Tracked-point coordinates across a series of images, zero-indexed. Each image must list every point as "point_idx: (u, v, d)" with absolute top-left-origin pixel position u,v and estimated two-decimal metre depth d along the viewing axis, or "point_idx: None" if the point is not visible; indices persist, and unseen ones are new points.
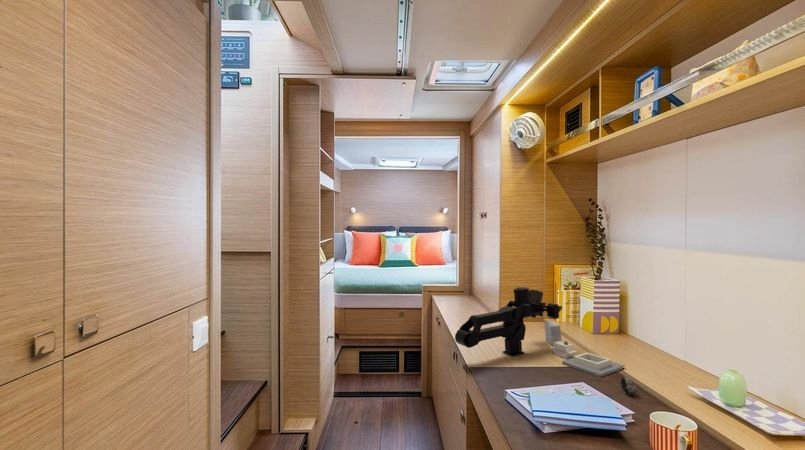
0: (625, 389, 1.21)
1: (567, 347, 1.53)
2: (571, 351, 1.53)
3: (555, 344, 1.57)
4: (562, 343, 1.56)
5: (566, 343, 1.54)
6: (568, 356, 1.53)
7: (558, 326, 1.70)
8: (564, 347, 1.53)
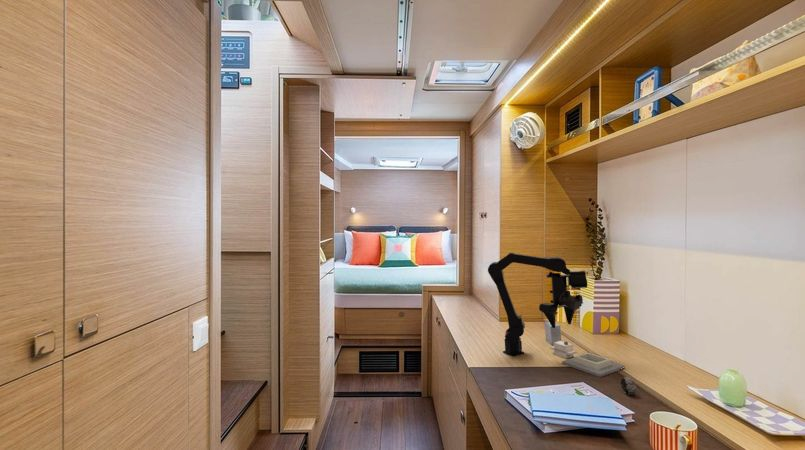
0: (625, 390, 1.21)
1: (567, 347, 1.53)
2: (571, 351, 1.53)
3: (555, 344, 1.57)
4: (562, 343, 1.56)
5: (566, 343, 1.54)
6: (568, 356, 1.53)
7: (558, 326, 1.70)
8: (564, 347, 1.53)
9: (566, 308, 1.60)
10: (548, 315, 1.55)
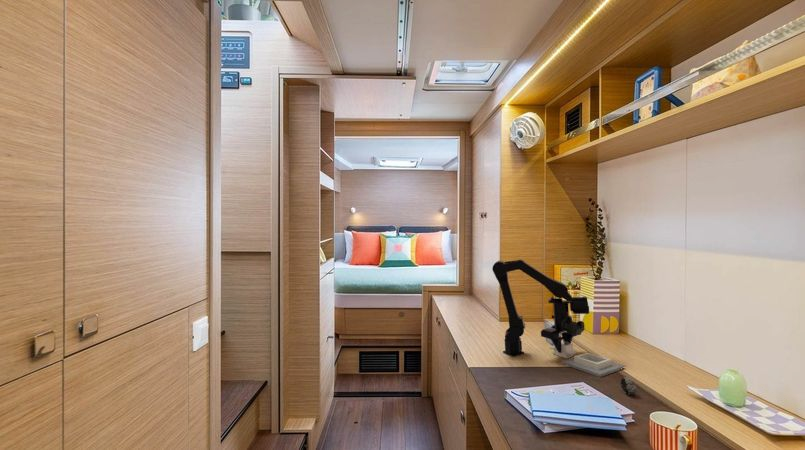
0: (625, 389, 1.21)
1: (567, 347, 1.53)
2: (571, 351, 1.53)
3: None
4: (562, 343, 1.56)
5: (566, 343, 1.54)
6: (568, 356, 1.53)
7: None
8: (564, 347, 1.53)
9: (564, 334, 1.59)
10: (554, 340, 1.56)
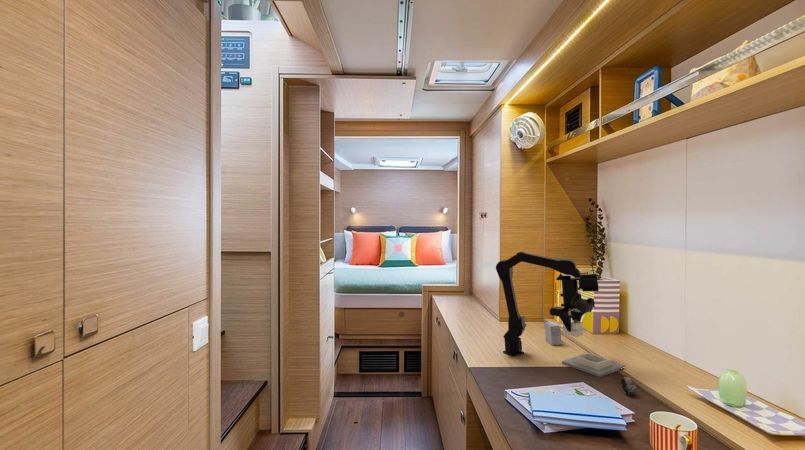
0: (625, 390, 1.21)
1: (577, 325, 1.49)
2: (581, 329, 1.48)
3: None
4: (571, 321, 1.52)
5: (576, 321, 1.50)
6: (578, 334, 1.49)
7: (558, 326, 1.70)
8: (574, 325, 1.48)
9: (573, 313, 1.54)
10: (563, 318, 1.51)
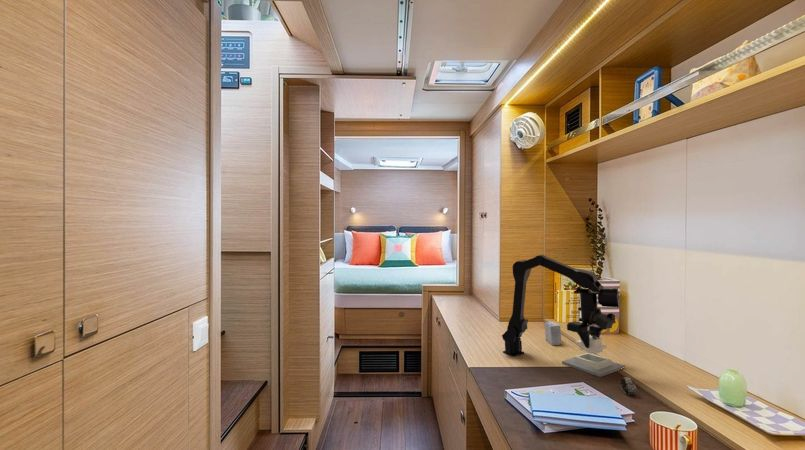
0: (625, 389, 1.21)
1: (596, 341, 1.40)
2: (600, 346, 1.40)
3: None
4: (590, 337, 1.44)
5: (595, 337, 1.42)
6: (597, 351, 1.41)
7: (558, 326, 1.70)
8: (593, 341, 1.40)
9: (591, 328, 1.46)
10: (581, 334, 1.43)
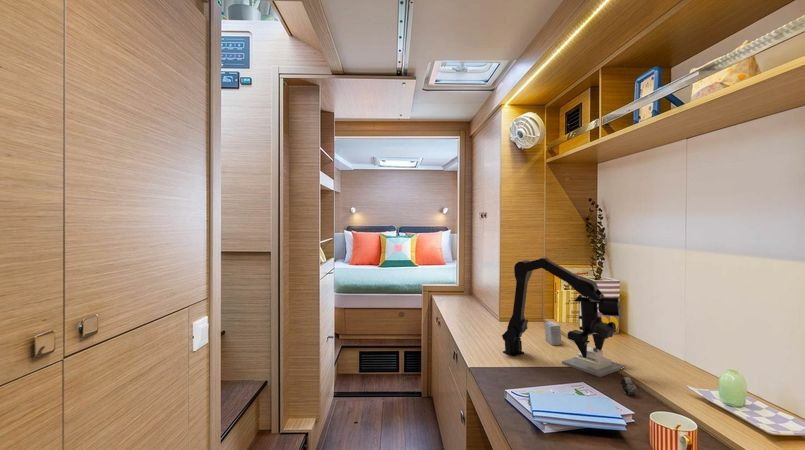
0: (625, 390, 1.21)
1: (597, 354, 1.40)
2: (601, 358, 1.40)
3: None
4: (591, 350, 1.43)
5: (595, 350, 1.42)
6: None
7: (558, 326, 1.70)
8: (594, 354, 1.40)
9: (595, 335, 1.47)
10: (579, 343, 1.42)
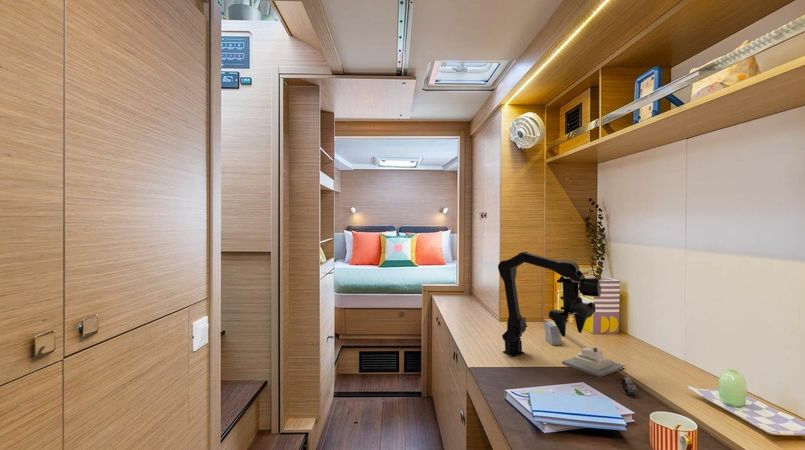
0: (625, 389, 1.21)
1: (597, 354, 1.40)
2: (601, 358, 1.40)
3: (583, 351, 1.44)
4: (591, 350, 1.43)
5: (595, 350, 1.42)
6: None
7: None
8: (594, 354, 1.40)
9: (577, 315, 1.51)
10: (558, 323, 1.46)
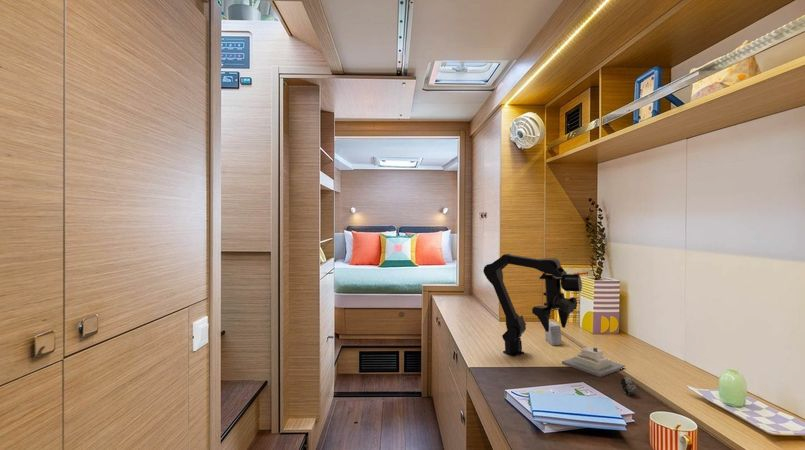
0: (625, 389, 1.21)
1: (597, 354, 1.40)
2: (601, 358, 1.40)
3: (583, 351, 1.44)
4: (591, 350, 1.43)
5: (595, 350, 1.42)
6: None
7: (558, 326, 1.70)
8: (594, 354, 1.40)
9: (560, 311, 1.56)
10: (541, 318, 1.50)
